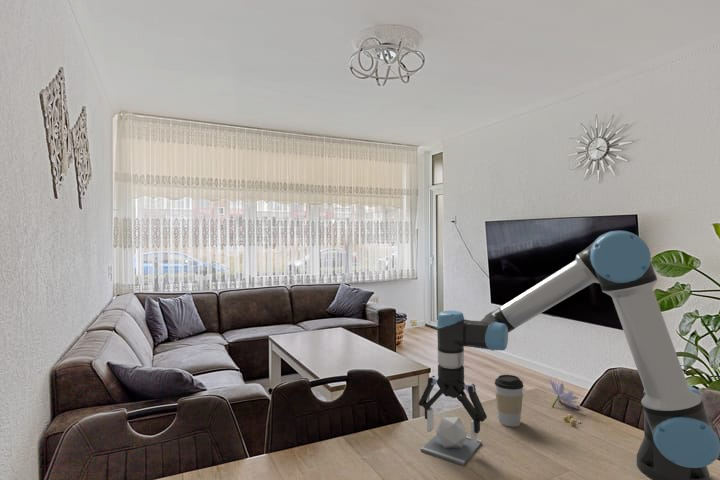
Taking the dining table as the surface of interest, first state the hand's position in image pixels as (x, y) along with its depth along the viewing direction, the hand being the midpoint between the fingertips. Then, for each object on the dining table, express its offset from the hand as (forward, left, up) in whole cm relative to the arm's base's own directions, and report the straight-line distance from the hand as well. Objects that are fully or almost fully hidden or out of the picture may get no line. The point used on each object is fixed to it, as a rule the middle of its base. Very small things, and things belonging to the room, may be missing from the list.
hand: (451, 436), depth 122 cm
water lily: (-22, -49, -4) cm, 54 cm away
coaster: (0, 0, -3) cm, 3 cm away
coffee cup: (-9, -26, -3) cm, 28 cm away
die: (0, 0, -3) cm, 3 cm away
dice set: (-26, -37, -4) cm, 45 cm away
